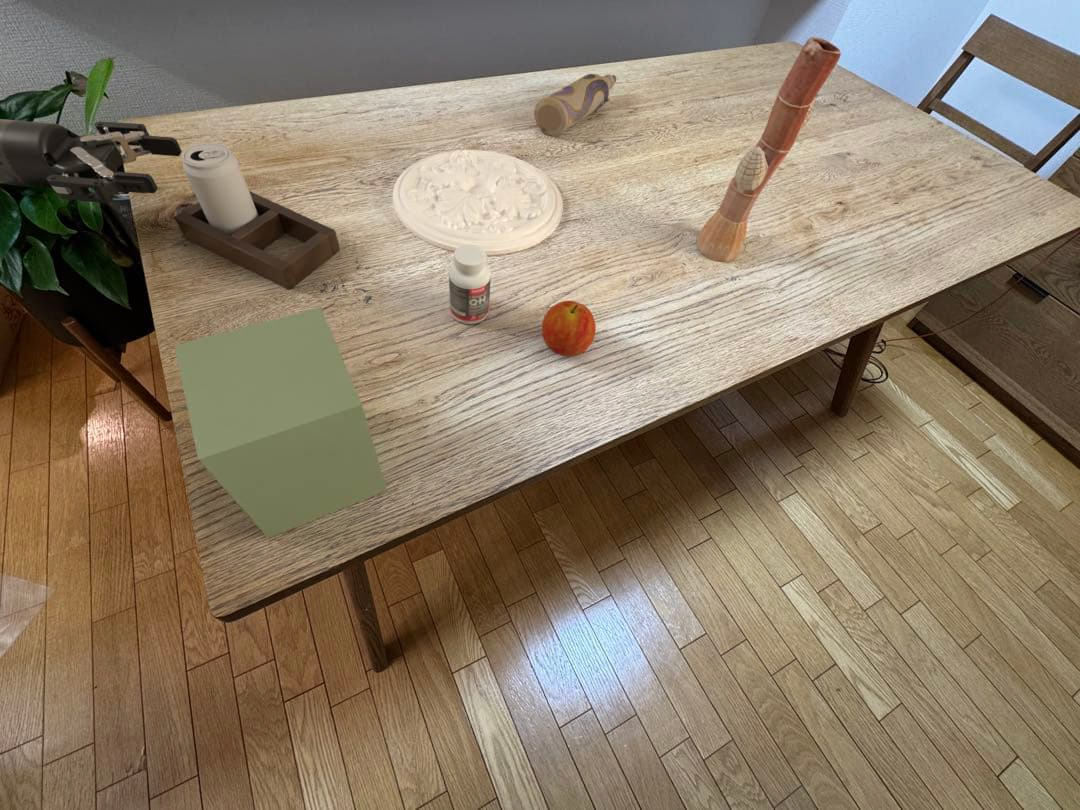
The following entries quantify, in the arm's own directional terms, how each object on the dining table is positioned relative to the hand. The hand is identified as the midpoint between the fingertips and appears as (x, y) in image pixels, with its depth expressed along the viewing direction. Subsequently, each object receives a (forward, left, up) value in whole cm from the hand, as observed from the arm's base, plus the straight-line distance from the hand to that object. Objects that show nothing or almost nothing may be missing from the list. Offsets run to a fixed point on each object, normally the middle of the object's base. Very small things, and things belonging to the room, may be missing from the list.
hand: (166, 164), depth 66 cm
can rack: (+3, -9, -10) cm, 14 cm away
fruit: (+9, -55, -10) cm, 57 cm away
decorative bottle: (+68, -30, -10) cm, 75 cm away
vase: (+44, -68, -10) cm, 81 cm away
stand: (-21, -39, -10) cm, 46 cm away
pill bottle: (+8, -41, -10) cm, 43 cm away
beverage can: (+3, -5, -10) cm, 12 cm away
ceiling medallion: (+31, -28, -10) cm, 43 cm away
